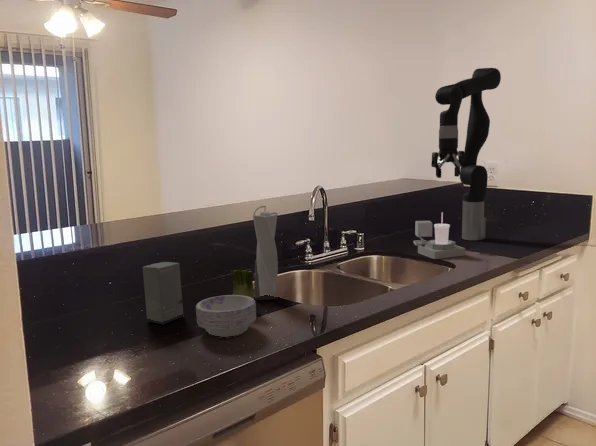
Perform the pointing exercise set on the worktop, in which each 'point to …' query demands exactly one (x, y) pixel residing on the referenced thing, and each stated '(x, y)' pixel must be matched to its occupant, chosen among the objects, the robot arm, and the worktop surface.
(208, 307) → the paper bowls
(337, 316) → the worktop surface
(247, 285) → the fennel bulb
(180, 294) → the skincare box
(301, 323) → the worktop surface
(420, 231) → the security camera
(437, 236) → the beverage cup
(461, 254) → the mount block
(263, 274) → the skyscraper
